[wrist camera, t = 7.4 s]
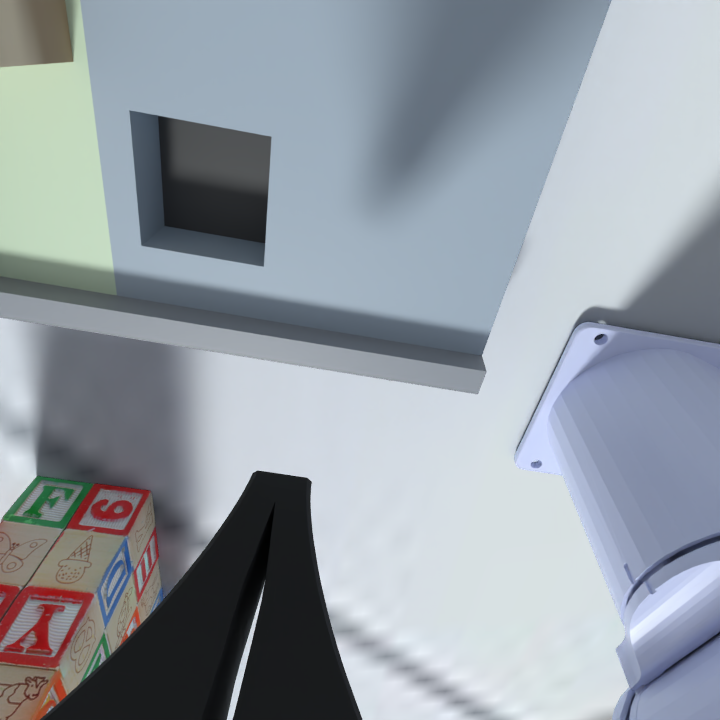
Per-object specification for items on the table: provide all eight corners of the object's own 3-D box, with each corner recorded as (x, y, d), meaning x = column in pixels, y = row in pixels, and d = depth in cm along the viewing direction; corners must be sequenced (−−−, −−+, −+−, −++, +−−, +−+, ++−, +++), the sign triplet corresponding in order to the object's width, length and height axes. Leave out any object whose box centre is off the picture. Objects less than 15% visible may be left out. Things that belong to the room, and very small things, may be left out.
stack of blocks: (176, 672, 38) (99, 907, 28) (95, 663, 38) (-13, 897, 27) (152, 487, 26) (2, 776, 16) (34, 471, 26) (-197, 755, 16)
